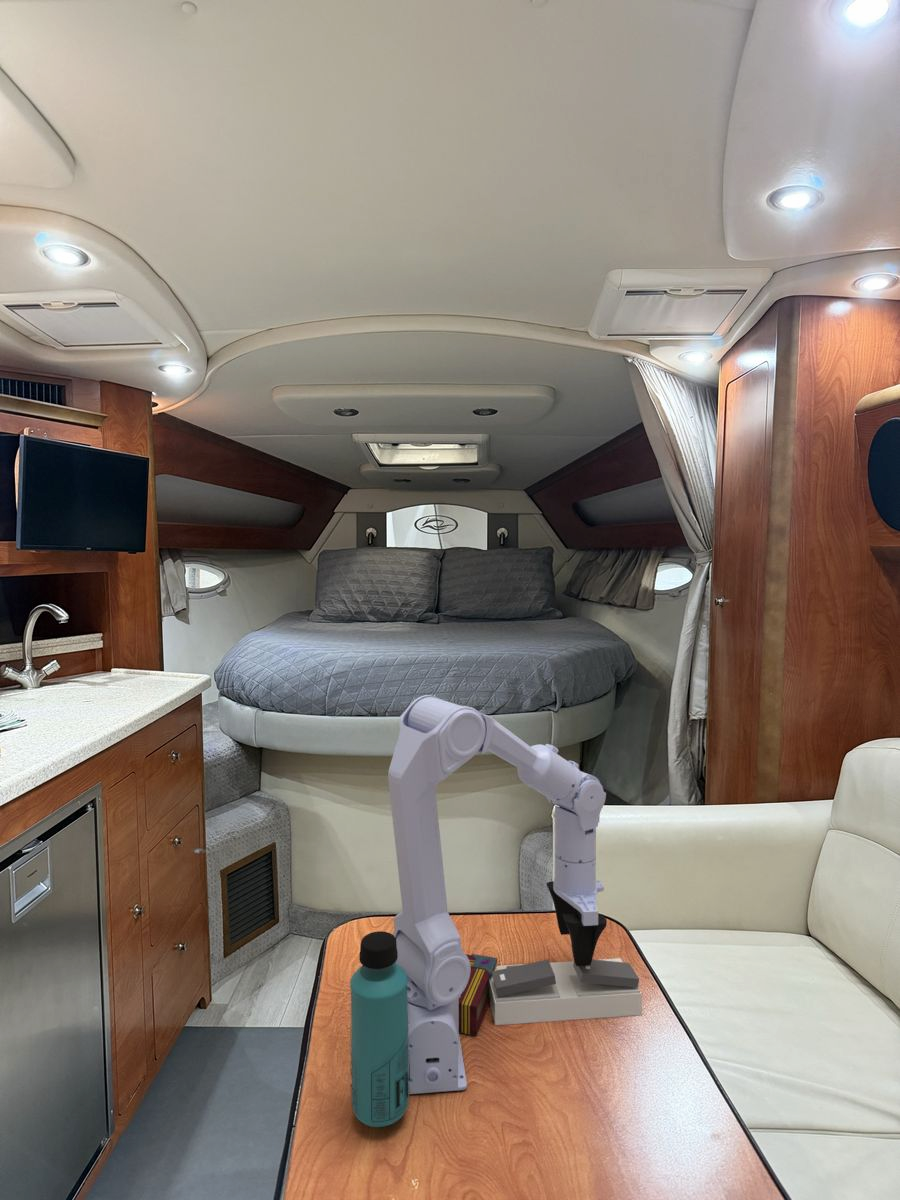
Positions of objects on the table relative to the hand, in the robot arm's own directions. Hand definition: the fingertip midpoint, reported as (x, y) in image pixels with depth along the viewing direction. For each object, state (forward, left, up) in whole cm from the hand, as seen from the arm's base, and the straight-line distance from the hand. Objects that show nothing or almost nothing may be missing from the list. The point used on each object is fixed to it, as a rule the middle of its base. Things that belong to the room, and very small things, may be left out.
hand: (574, 948), depth 93 cm
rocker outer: (-4, -3, -3) cm, 6 cm away
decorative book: (0, +20, -7) cm, 21 cm away
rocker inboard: (-4, +8, -3) cm, 9 cm away
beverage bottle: (-19, +28, -6) cm, 34 cm away
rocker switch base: (-2, +3, -6) cm, 7 cm away
